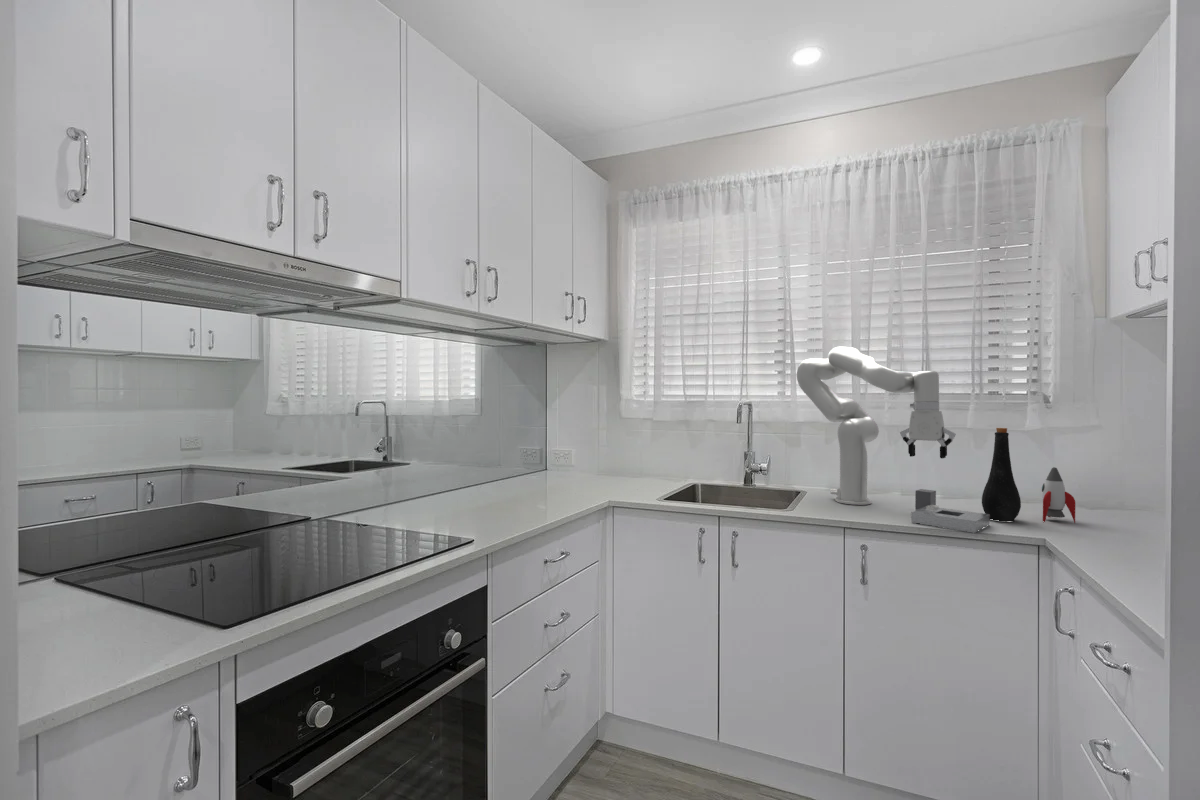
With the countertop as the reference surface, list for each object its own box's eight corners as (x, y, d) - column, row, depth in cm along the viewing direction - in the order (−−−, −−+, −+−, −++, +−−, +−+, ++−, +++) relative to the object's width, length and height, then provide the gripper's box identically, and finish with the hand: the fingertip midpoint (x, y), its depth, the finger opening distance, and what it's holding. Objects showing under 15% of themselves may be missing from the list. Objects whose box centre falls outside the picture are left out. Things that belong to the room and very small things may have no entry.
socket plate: (911, 522, 188) (911, 509, 188) (927, 516, 198) (927, 503, 198) (975, 532, 175) (975, 518, 175) (989, 525, 184) (989, 511, 184)
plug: (915, 513, 202) (915, 490, 202) (923, 510, 207) (923, 488, 207) (930, 516, 198) (930, 492, 198) (938, 512, 203) (938, 489, 203)
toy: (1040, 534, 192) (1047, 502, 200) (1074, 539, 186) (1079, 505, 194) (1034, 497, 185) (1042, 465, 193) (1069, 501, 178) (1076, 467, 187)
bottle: (1020, 525, 185) (1021, 429, 184) (980, 520, 191) (980, 428, 191) (1021, 519, 193) (1022, 427, 193) (982, 514, 200) (983, 426, 199)
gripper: (895, 407, 205) (896, 456, 205) (950, 407, 192) (951, 459, 192) (904, 406, 210) (905, 454, 210) (958, 406, 197) (959, 458, 197)
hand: (927, 457), depth 201 cm, fingers open, 9 cm apart
